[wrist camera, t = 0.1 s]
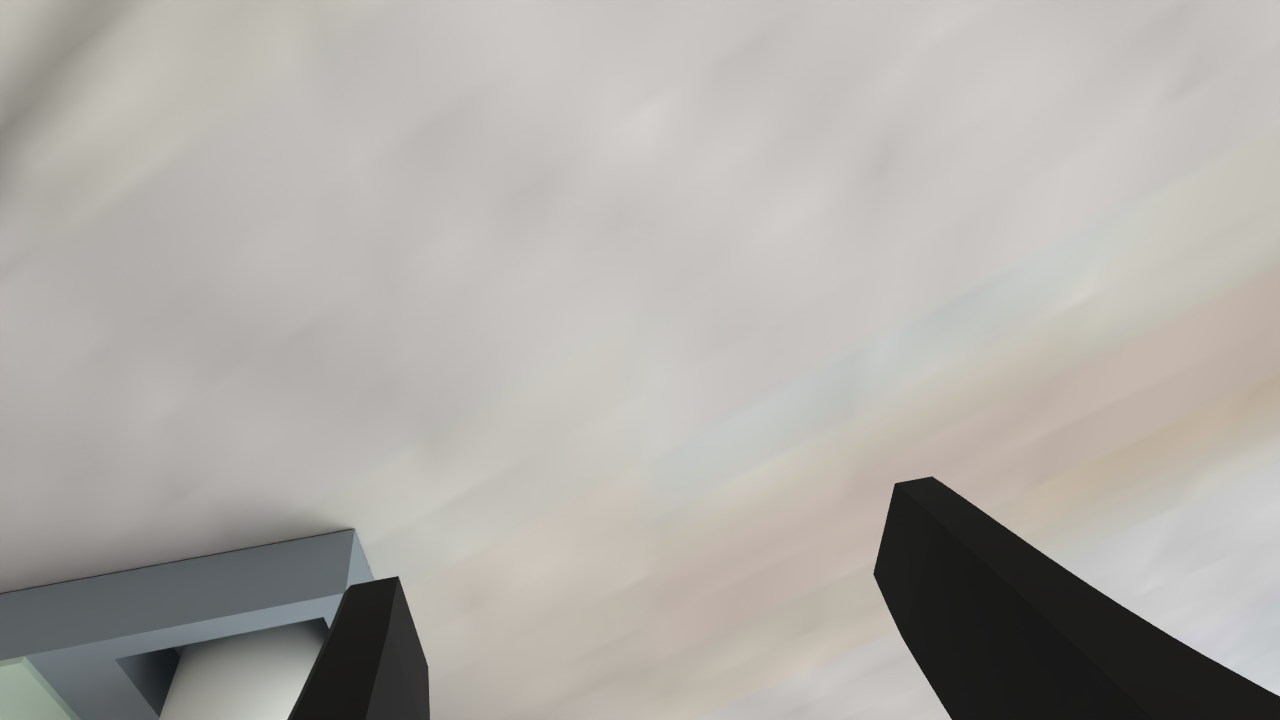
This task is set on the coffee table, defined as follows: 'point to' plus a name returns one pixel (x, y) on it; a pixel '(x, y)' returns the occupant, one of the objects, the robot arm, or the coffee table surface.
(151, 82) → the coffee table surface
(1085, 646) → the robot arm
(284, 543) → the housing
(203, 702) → the cylinder
